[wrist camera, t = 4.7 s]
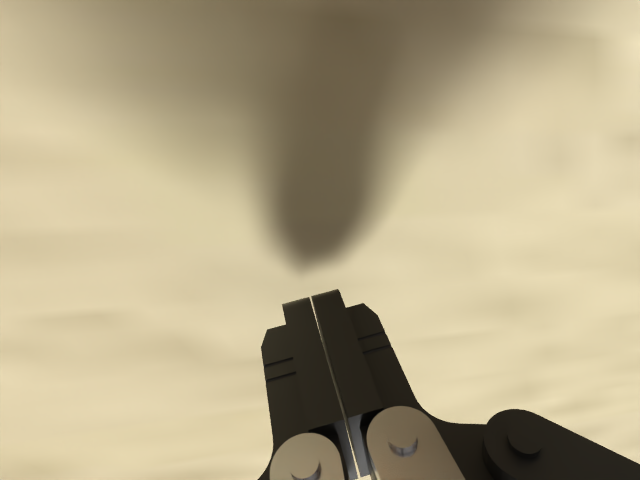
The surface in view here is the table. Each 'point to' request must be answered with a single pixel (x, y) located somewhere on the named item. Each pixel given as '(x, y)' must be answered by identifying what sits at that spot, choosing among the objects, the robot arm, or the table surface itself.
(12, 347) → the table surface
